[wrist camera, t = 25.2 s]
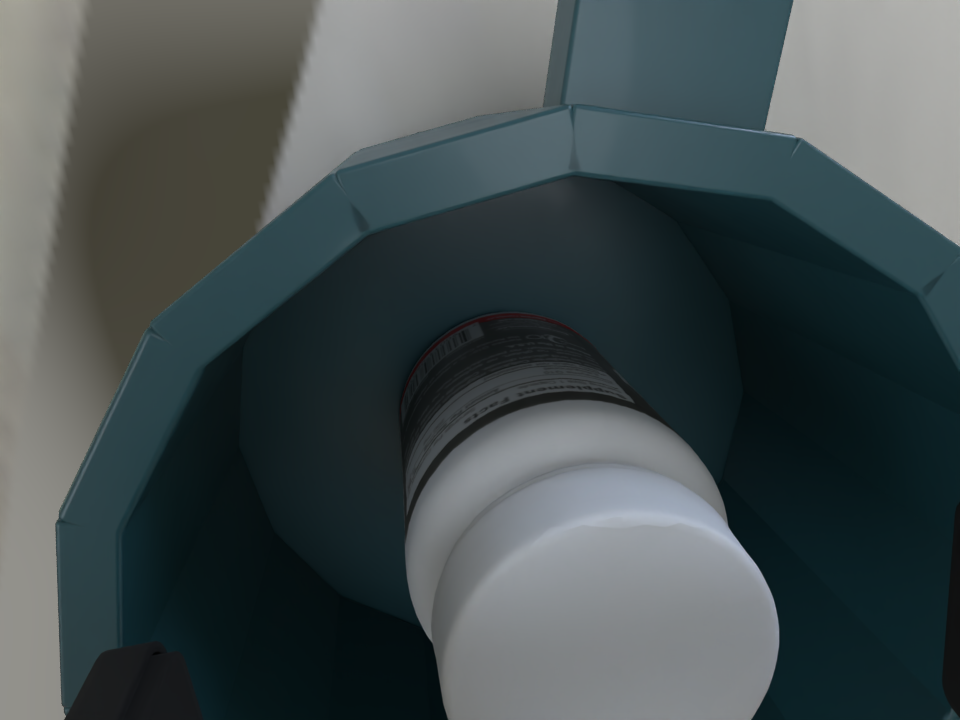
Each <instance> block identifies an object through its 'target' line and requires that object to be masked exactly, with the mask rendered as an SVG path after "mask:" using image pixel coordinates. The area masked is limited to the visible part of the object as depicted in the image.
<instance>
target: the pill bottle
mask: <svg viewBox="0 0 960 720" xmlns="http://www.w3.org/2000/svg"><path fill="white" fill-rule="evenodd" d="M399 429H400V440H401V454H402V472H403V494H404V519H405V560H406V572H407V581H408V586H409V592H410V597H411V600H412V603H413V606H414V609H415V612H416V615H417V617H418V619H419V621H420V623H421V625H422V627H423V629H424V631H425V633H426V635H427V636H428V638H429V639H430V641H431V642H432V643H433V647H434V653H435V656H436V661H437V667H438V674H439V680H440V687H441V693H442V699H443V704H444V708H445V711H446V714H447V718H448V720H751V719H752V718H753V716H754V714H755V713H756V711H757V709H758V708H759V706H760V704H761V702H762V700H763V698H764V696H765V694H766V692H767V690H768V688H769V685H770V683H771V680H772V677H773V673H774V670H775V666H776V661H777V655H778V648H779V624H778V617H777V612H776V607H775V603H774V599H773V597H772V594H771V591H770V589H769V587H768V585H767V583H766V581H765V579H764V577H763V575H762V573H761V571H760V570H759V568H758V566H757V565H756V564H755V562H754V561H753V560H752V559H751V557H750V556H749V555H748V553H747V552H746V551H745V550H744V548H743V547H742V546H741V544H740V543H739V541H738V540H737V539H736V537H735V536H734V535H733V533H732V532H731V530H730V529H729V527H728V521H727V515H726V511H725V507H724V503H723V500H722V497H721V495H720V492H719V490H718V488H717V486H716V483H715V481H714V479H713V477H712V475H711V474H710V472H709V471H708V469H707V468H706V466H705V465H704V463H703V462H702V461H701V459H700V458H699V457H698V455H697V454H696V453H695V452H694V451H693V449H692V448H691V447H690V446H689V445H688V444H687V443H686V442H685V441H684V440H683V438H682V437H681V436H680V435H679V434H678V433H677V432H676V431H675V430H674V429H673V428H672V427H671V426H670V425H669V424H668V423H667V422H666V421H665V420H664V419H663V418H662V417H661V416H660V415H659V414H658V413H657V412H656V411H655V410H654V409H653V408H652V407H651V406H650V405H649V404H648V403H647V402H646V401H645V400H644V399H643V398H642V396H641V395H640V394H639V393H638V392H637V391H636V390H635V389H634V388H633V387H632V386H630V385H629V383H628V382H627V381H626V380H625V379H624V378H623V377H622V376H621V375H620V374H619V373H618V372H617V371H616V370H615V369H614V368H613V367H612V366H611V365H610V364H609V363H608V361H607V360H606V359H605V358H604V357H603V356H602V355H601V354H600V353H599V352H598V350H597V349H596V348H595V347H594V346H593V345H592V344H591V343H590V342H589V341H588V340H587V339H585V338H584V337H583V336H581V335H580V334H579V333H578V332H577V331H575V330H573V329H572V328H570V327H569V326H567V325H565V324H563V323H561V322H559V321H556V320H554V319H551V318H548V317H545V316H541V315H537V314H531V313H525V312H498V313H491V314H486V315H482V316H478V317H476V318H473V319H470V320H468V321H465V322H463V323H461V324H459V325H457V326H456V327H454V328H452V329H451V330H449V331H448V332H446V333H445V334H444V335H442V336H441V337H440V338H438V339H437V340H436V341H435V342H434V343H433V344H432V345H431V346H430V347H429V348H428V349H427V350H426V351H425V352H424V353H423V355H422V356H421V357H420V359H419V360H418V361H417V363H416V364H415V366H414V368H413V369H412V371H411V373H410V375H409V377H408V380H407V382H406V385H405V388H404V391H403V395H402V399H401V404H400V414H399Z"/></svg>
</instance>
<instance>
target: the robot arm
mask: <svg viewBox="0 0 960 720" xmlns="http://www.w3.org/2000/svg"><path fill="white" fill-rule="evenodd" d="M942 686H943V690H944V694H945V696H946V698H947V701H948V702H949V704H950V706H951V707H952V709H953V710H954V711H955V713H956V714H957V715H958V716H959V717H960V502H959V504H958V505H957V506H956V511H955V519H954V532H953V544H952V557H951V570H950V583H949V596H948V608H947V621H946V634H945V647H944V659H943V672H942ZM64 720H203V716H202V713H201V710H200V707H199V704H198V700H197V697H196V694H195V691H194V688H193V684H192V681H191V678H190V675H189V672H188V668H187V665H186V662H185V660H184V657H183V655H182V654H181V653H180V652H178V651H174V652H169V653H167V651H166V648H165V647H164V646H163V644H162V643H161V642H158V641H153V642H148V643H143V644H137V645H132V646H127V647H122V648H116V649H111V650H106V651H104V652H102V653H101V654H100V655H99V657H98V658H97V659H96V661H95V663H94V665H93V667H92V668H91V670H90V672H89V674H88V676H87V678H86V680H85V682H84V684H83V685H82V687H81V689H80V691H79V693H78V695H77V697H76V699H75V701H74V702H73V704H72V706H71V708H70V710H69V712H68V714H67V716H66V718H65V719H64Z"/></svg>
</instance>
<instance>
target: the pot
mask: <svg viewBox="0 0 960 720" xmlns="http://www.w3.org/2000/svg"><path fill="white" fill-rule="evenodd" d="M792 4H793V0H558V5H557V12H556V19H555V26H554V33H553V40H552V47H551V54H550V61H549V67H548V74H547V81H546V88H545V95H544V102H543V107H542V108H534V109H527V110H519V111H512V112H504V113H496V114H489V115H481V116H476V117H472V118H469V119H465V120H462V121H458V122H455V123H451V124H448V125H444V126H441V127H437V128H434V129H430V130H427V131H423V132H418V133H415V134H412V135H409V136H405V137H402V138H398V139H395V140H391V141H388V142H384V143H381V144H377V145H374V146H370V147H367V148H363V149H360V150H359V151H357V152H355V153H354V154H352V155H351V156H350V157H349V158H348V159H346V160H345V161H344V162H343V163H341V164H340V165H339V166H338V167H337V168H335V169H334V170H333V171H332V172H331V173H329V174H328V175H327V176H326V177H324V178H323V179H322V180H321V181H320V182H318V183H317V184H316V185H315V186H314V187H312V188H311V189H310V190H309V191H308V192H306V193H305V194H304V195H303V196H301V197H300V198H299V199H298V200H297V201H295V202H294V203H293V204H292V205H291V206H289V207H288V208H287V209H286V210H284V211H283V212H282V213H281V214H280V215H278V216H277V217H276V218H275V219H274V220H272V221H271V222H270V223H269V224H268V225H266V226H265V227H264V228H263V229H261V230H260V231H259V232H258V233H257V234H255V235H254V236H253V237H252V238H251V239H249V240H248V241H247V242H246V243H245V244H243V245H242V246H241V247H240V248H239V249H237V250H236V251H235V252H234V253H233V254H231V255H230V256H229V257H228V258H227V259H225V260H224V261H223V262H222V263H221V264H219V265H218V266H217V267H216V268H214V269H213V270H212V271H211V272H210V273H209V274H207V275H206V276H205V277H204V278H202V279H201V280H200V281H199V282H198V283H196V284H195V285H194V286H193V287H192V288H190V289H189V290H188V291H187V292H186V293H184V294H183V295H182V296H181V297H180V298H178V299H177V300H176V301H175V302H173V303H172V304H171V305H170V306H169V307H167V308H166V309H165V310H164V311H163V312H162V313H160V314H159V315H158V316H157V317H155V318H154V319H153V320H152V321H151V323H150V327H149V328H147V329H146V330H145V331H144V334H143V335H142V338H141V340H140V342H139V344H138V346H137V348H136V350H135V352H134V354H133V357H132V359H131V361H130V363H129V365H128V367H127V369H126V372H125V373H124V375H123V378H122V380H121V382H120V384H119V386H118V388H117V390H116V392H115V394H114V397H113V399H112V401H111V403H110V405H109V407H108V410H107V411H106V413H105V416H104V418H103V420H102V422H101V424H100V427H99V428H98V430H97V432H96V435H95V437H94V439H93V441H92V443H91V445H90V447H89V449H88V452H87V453H86V456H85V458H84V460H83V462H82V464H81V466H80V468H79V470H78V472H77V475H76V477H75V479H74V481H73V483H72V485H71V487H70V489H69V491H68V494H67V496H66V498H65V500H64V502H63V504H62V506H61V508H60V510H59V519H58V520H57V522H56V524H55V525H56V555H57V583H58V613H59V642H60V669H61V670H60V671H61V699H62V706H63V707H64V713H65V715H66V716H67V714H68V712H69V710H70V708H71V706H72V704H73V702H74V701H75V699H76V697H77V695H78V693H79V691H80V689H81V687H82V685H83V684H84V682H85V680H86V678H87V676H88V674H89V672H90V670H91V668H92V667H93V665H94V663H95V661H96V659H97V658H98V657H99V655H100V654H101V653H102V652H104V651H106V650H111V649H116V648H122V647H127V646H132V645H137V644H143V643H148V642H153V641H158V642H161V643H162V644H163V646H164V647H165V648H166V651H167V653H169V652H174V651H178V652H180V653H181V654H182V655H183V657H184V660H185V662H186V665H187V668H188V672H189V675H190V678H191V681H192V684H193V688H194V691H195V694H196V697H197V700H198V704H199V707H200V710H201V713H202V716H203V720H448V718H447V714H446V711H445V708H444V704H443V699H442V693H441V687H440V680H439V674H438V667H437V661H436V656H435V653H434V647H433V643H432V642H431V641H430V639H429V638H428V636H427V635H426V633H425V631H424V629H423V627H422V625H421V623H420V621H419V619H418V617H417V615H416V612H415V609H414V606H413V603H412V600H411V597H410V592H409V586H408V581H407V572H406V560H405V519H404V494H403V472H402V454H401V440H400V429H399V414H400V404H401V399H402V395H403V391H404V388H405V385H406V382H407V380H408V377H409V375H410V373H411V371H412V369H413V368H414V366H415V364H416V363H417V361H418V360H419V359H420V357H421V356H422V355H423V353H424V352H425V351H426V350H427V349H428V348H429V347H430V346H431V345H432V344H433V343H434V342H435V341H436V340H437V339H438V338H440V337H441V336H442V335H444V334H445V333H446V332H448V331H449V330H451V329H452V328H454V327H456V326H457V325H459V324H461V323H463V322H465V321H468V320H470V319H473V318H476V317H478V316H482V315H486V314H491V313H498V312H525V313H531V314H537V315H541V316H545V317H548V318H551V319H554V320H556V321H559V322H561V323H563V324H565V325H567V326H569V327H570V328H572V329H573V330H575V331H577V332H578V333H579V334H580V335H581V336H583V337H584V338H585V339H587V340H588V341H589V342H590V343H591V344H592V345H593V346H594V347H595V348H596V349H597V350H598V352H599V353H600V354H601V355H602V356H603V357H604V358H605V359H606V360H607V361H608V363H609V364H610V365H611V366H612V367H613V368H614V369H615V370H616V371H617V372H618V373H619V374H620V375H621V376H622V377H623V378H624V379H625V380H626V381H627V382H628V383H629V385H630V386H632V387H633V388H634V389H635V390H636V391H637V392H638V393H639V394H640V395H641V396H642V398H643V399H644V400H645V401H646V402H647V403H648V404H649V405H650V406H651V407H652V408H653V409H654V410H655V411H656V412H657V413H658V414H659V415H660V416H661V417H662V418H663V419H664V420H665V421H666V422H667V423H668V424H669V425H670V426H671V427H672V428H673V429H674V430H675V431H676V432H677V433H678V434H679V435H680V436H681V437H682V438H683V440H684V441H685V442H686V443H687V444H688V445H689V446H690V447H691V448H692V449H693V451H694V452H695V453H696V454H697V455H698V457H699V458H700V459H701V461H702V462H703V463H704V465H705V466H706V468H707V469H708V471H709V472H710V474H711V475H712V477H713V479H714V481H715V483H716V486H717V488H718V490H719V492H720V495H721V497H722V500H723V503H724V507H725V511H726V515H727V521H728V527H729V529H730V530H731V532H732V533H733V535H734V536H735V537H736V539H737V540H738V541H739V543H740V544H741V546H742V547H743V548H744V550H745V551H746V552H747V553H748V555H749V556H750V557H751V559H752V560H753V561H754V562H755V564H756V565H757V566H758V568H759V570H760V571H761V573H762V575H763V577H764V579H765V581H766V583H767V585H768V587H769V589H770V591H771V594H772V597H773V599H774V603H775V607H776V612H777V617H778V624H779V648H778V655H777V661H776V666H775V670H774V673H773V677H772V680H771V683H770V685H769V688H768V690H767V692H766V694H765V696H764V698H763V700H762V702H761V704H760V706H759V708H758V709H757V711H756V713H755V714H754V716H753V718H752V719H751V720H960V717H959V716H958V715H957V714H956V713H955V711H954V710H953V709H952V707H951V706H950V704H949V702H948V701H947V698H946V696H945V694H944V690H943V686H942V672H943V659H944V647H945V634H946V621H947V608H948V596H949V583H950V570H951V557H952V544H953V532H954V519H955V511H956V506H957V505H958V504H959V502H960V247H959V246H958V245H957V244H955V243H954V242H952V241H951V240H949V239H948V238H946V237H945V236H943V235H942V234H941V233H939V232H938V231H936V230H935V229H933V228H932V227H930V226H929V225H927V224H926V223H925V222H923V221H922V220H920V219H919V218H917V217H916V216H914V215H913V214H911V213H910V212H909V211H907V210H906V209H904V208H903V207H901V206H900V205H898V204H897V203H895V202H894V201H893V200H891V199H890V198H888V197H887V196H885V195H884V194H882V193H881V192H879V191H878V190H877V189H875V188H874V187H872V186H871V185H869V184H868V183H866V182H865V181H863V180H862V179H861V178H859V177H858V176H856V175H855V174H853V173H852V172H850V171H849V170H848V169H846V168H845V167H843V166H842V165H840V164H839V163H837V162H836V161H834V160H833V159H832V158H830V157H829V156H827V155H826V154H824V153H823V152H821V151H820V150H818V149H817V148H816V147H814V146H813V145H811V144H810V143H808V142H807V141H805V140H804V139H802V138H796V137H795V136H794V135H790V134H784V133H777V132H770V131H764V129H765V124H766V120H767V115H768V111H769V106H770V102H771V97H772V93H773V89H774V84H775V80H776V75H777V71H778V66H779V62H780V57H781V53H782V48H783V44H784V40H785V35H786V31H787V26H788V22H789V17H790V13H791V8H792Z"/></svg>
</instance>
